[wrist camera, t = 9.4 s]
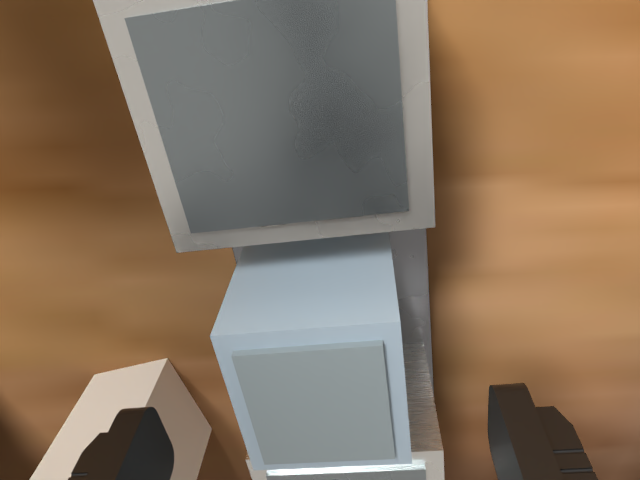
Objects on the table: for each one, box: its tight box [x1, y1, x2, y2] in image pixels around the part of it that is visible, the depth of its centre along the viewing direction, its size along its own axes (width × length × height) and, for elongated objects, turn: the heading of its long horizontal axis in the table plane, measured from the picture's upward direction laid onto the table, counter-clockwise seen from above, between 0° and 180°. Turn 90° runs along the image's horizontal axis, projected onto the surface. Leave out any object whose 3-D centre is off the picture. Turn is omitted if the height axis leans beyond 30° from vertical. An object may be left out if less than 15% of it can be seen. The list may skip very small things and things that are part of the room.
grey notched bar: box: [93, 0, 444, 480], centre depth 17 cm, size 20×7×7 cm, turn 8°
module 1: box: [30, 358, 212, 480], centre depth 22 cm, size 5×4×6 cm
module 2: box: [210, 232, 412, 470], centre depth 16 cm, size 5×4×7 cm
